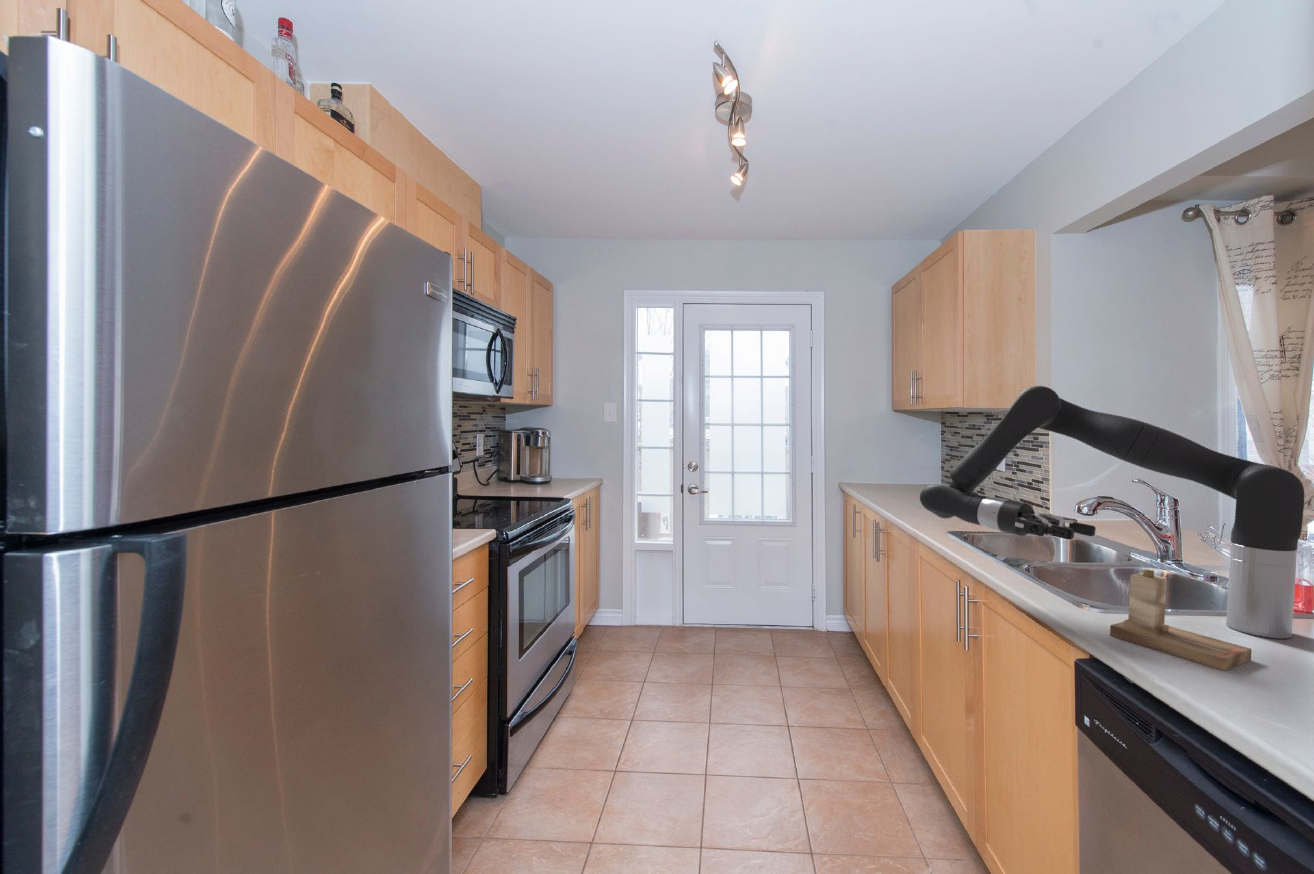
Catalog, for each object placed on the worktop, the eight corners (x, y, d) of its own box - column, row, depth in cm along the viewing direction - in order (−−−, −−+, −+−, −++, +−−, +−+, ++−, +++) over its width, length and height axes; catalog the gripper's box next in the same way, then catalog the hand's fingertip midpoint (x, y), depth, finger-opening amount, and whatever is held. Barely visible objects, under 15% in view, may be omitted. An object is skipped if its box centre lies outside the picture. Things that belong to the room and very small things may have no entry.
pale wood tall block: (1137, 622, 115) (1140, 565, 115) (1171, 632, 111) (1174, 572, 110) (1123, 626, 113) (1126, 568, 113) (1157, 636, 108) (1160, 575, 108)
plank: (1137, 627, 118) (1138, 617, 118) (1251, 659, 103) (1251, 648, 103) (1110, 635, 114) (1110, 625, 114) (1224, 670, 99) (1224, 659, 99)
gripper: (988, 501, 131) (1068, 517, 117) (1024, 498, 138) (1103, 513, 124) (985, 534, 132) (1063, 554, 118) (1020, 529, 139) (1099, 547, 125)
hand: (1084, 533), depth 121 cm, fingers open, 8 cm apart
